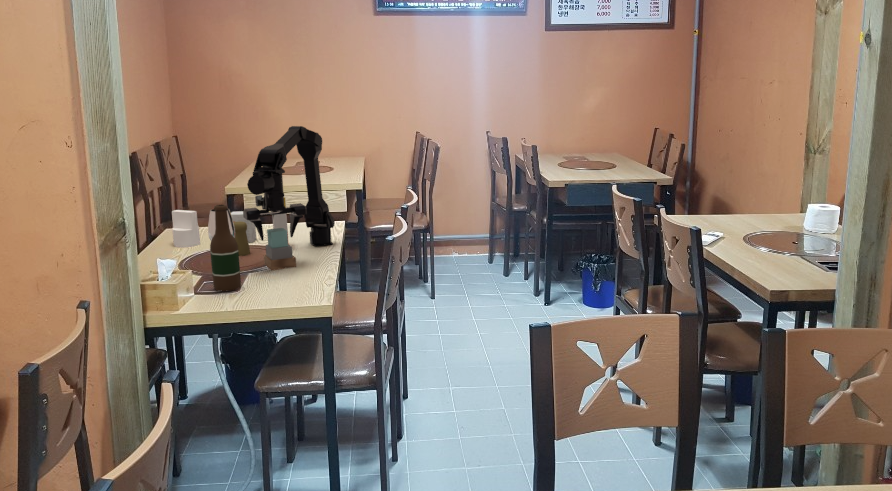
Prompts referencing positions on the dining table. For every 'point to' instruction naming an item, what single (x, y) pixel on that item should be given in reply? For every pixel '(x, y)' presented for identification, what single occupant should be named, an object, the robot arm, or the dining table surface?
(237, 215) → the small box
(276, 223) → the french fries container
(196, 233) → the white stepped block
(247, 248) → the cork
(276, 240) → the teal cube
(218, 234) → the beer bottle
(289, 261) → the walnut slab
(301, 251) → the dining table surface
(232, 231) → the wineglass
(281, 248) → the charcoal block
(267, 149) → the robot arm
